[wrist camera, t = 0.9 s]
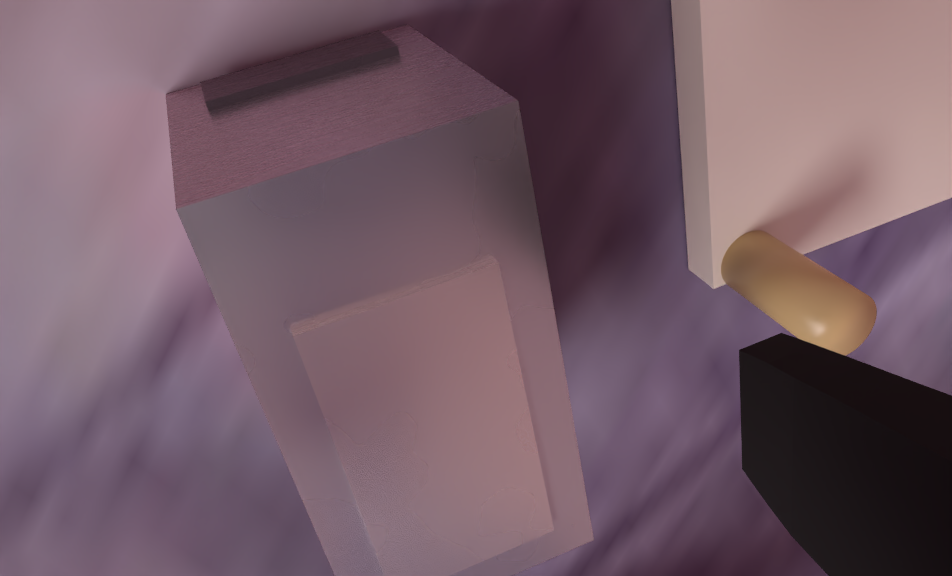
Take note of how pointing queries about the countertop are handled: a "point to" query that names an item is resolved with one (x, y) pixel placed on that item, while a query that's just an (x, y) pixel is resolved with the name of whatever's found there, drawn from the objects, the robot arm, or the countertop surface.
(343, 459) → the mauve rectangular box
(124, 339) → the countertop surface
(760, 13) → the wooden peg board
